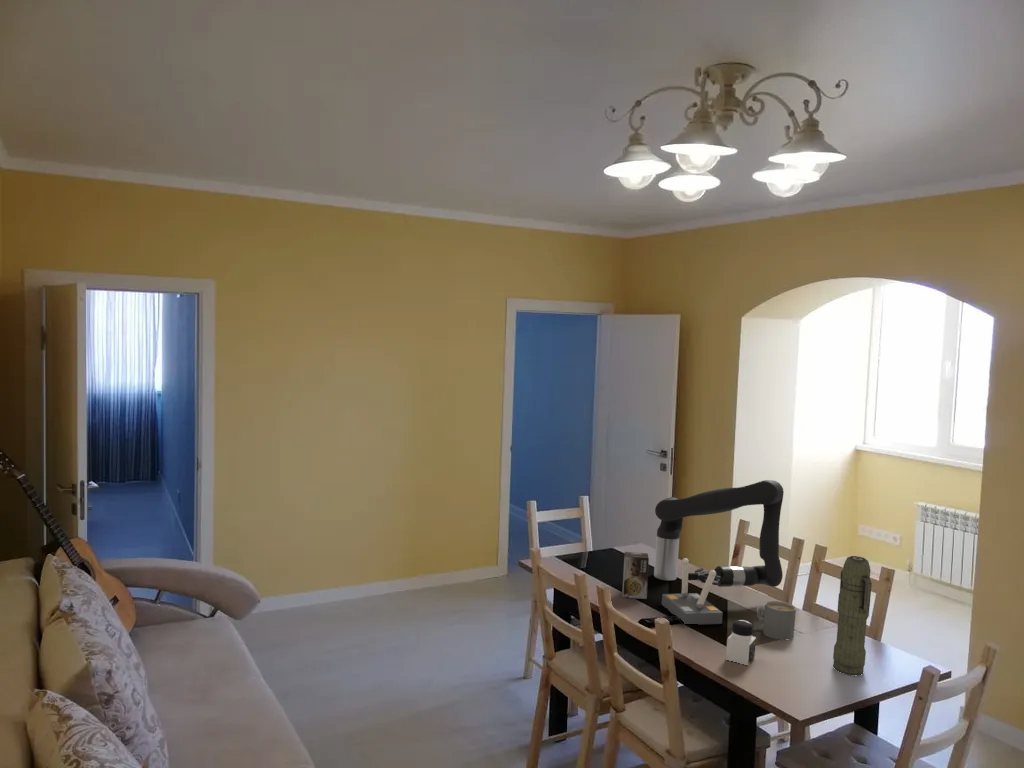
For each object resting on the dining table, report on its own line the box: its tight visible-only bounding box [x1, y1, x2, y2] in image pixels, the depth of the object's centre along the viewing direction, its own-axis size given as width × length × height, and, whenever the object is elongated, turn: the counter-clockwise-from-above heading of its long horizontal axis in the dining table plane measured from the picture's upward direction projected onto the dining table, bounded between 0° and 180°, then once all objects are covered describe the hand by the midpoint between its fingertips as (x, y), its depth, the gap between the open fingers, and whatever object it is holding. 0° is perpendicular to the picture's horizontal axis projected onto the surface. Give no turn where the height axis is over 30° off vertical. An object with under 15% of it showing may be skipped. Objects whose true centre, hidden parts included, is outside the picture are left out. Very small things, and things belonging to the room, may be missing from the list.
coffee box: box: [621, 551, 650, 600], centre depth 296 cm, size 9×6×16 cm
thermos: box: [832, 555, 873, 677], centre depth 237 cm, size 9×12×35 cm
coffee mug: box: [756, 600, 797, 641], centre depth 266 cm, size 13×10×10 cm
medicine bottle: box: [725, 619, 757, 667], centre depth 241 cm, size 7×7×12 cm
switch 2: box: [696, 569, 716, 609], centre depth 274 cm, size 2×2×14 cm
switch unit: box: [661, 592, 724, 625], centre depth 280 cm, size 20×14×4 cm
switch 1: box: [680, 557, 689, 598], centre depth 285 cm, size 2×2×14 cm
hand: (687, 576), depth 285 cm, fingers closed
